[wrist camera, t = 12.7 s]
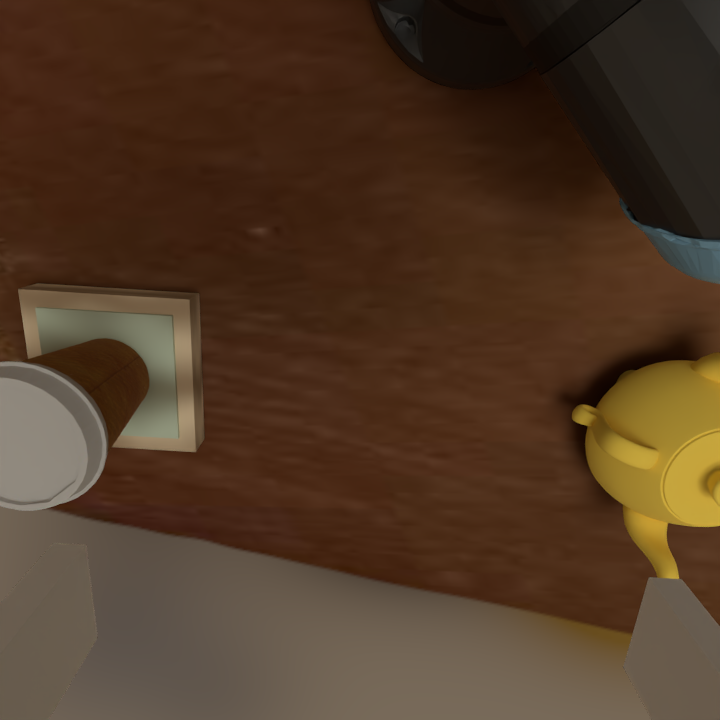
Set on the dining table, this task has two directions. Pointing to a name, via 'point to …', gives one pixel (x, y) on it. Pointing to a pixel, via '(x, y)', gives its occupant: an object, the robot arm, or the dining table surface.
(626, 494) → the teapot
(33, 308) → the trivet
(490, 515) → the dining table surface
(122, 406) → the disposable coffee cup
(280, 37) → the dining table surface
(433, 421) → the dining table surface
